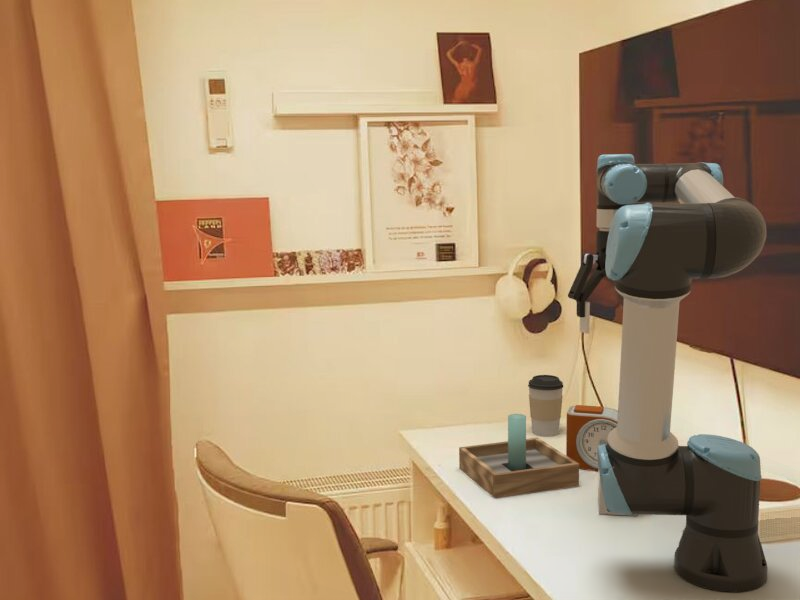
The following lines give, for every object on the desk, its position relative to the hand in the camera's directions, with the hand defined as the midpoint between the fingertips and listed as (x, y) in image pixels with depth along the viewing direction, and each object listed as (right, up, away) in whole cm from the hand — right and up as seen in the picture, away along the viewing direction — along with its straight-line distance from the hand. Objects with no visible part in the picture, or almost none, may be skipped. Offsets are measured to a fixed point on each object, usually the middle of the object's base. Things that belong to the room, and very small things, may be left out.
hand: (612, 329), depth 191 cm
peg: (-19, -33, +13) cm, 40 cm away
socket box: (-19, -33, +13) cm, 40 cm away
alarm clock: (+1, -32, +19) cm, 38 cm away
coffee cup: (-7, -28, +45) cm, 53 cm away
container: (-1, -36, -6) cm, 37 cm away
